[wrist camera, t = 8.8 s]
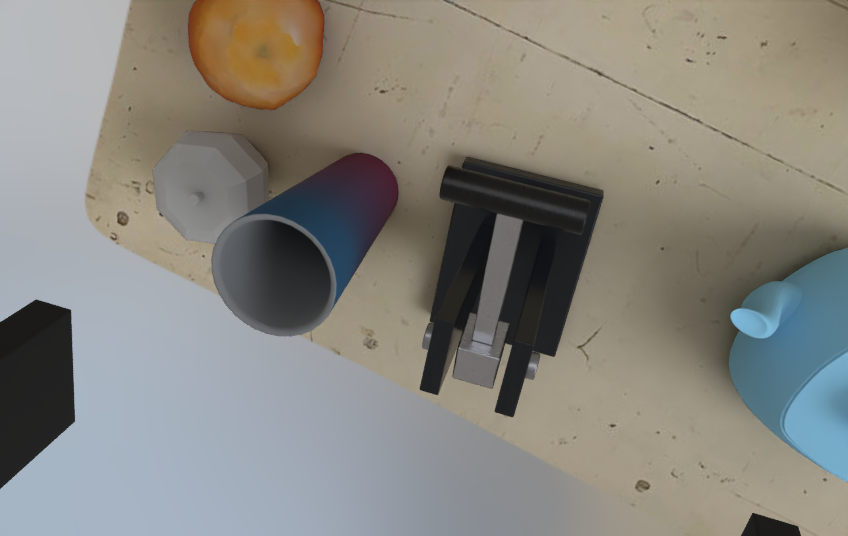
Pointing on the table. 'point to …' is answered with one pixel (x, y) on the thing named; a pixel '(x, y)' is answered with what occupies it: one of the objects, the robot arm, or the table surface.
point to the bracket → (527, 289)
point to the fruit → (257, 48)
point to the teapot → (798, 359)
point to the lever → (501, 256)
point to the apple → (209, 183)
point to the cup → (303, 246)
